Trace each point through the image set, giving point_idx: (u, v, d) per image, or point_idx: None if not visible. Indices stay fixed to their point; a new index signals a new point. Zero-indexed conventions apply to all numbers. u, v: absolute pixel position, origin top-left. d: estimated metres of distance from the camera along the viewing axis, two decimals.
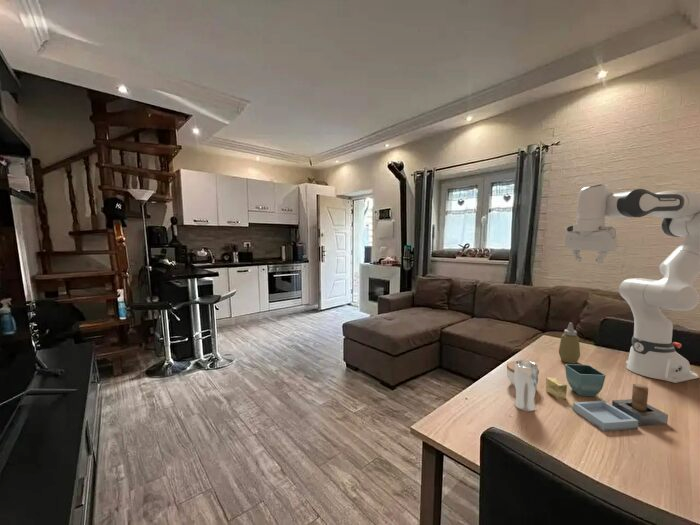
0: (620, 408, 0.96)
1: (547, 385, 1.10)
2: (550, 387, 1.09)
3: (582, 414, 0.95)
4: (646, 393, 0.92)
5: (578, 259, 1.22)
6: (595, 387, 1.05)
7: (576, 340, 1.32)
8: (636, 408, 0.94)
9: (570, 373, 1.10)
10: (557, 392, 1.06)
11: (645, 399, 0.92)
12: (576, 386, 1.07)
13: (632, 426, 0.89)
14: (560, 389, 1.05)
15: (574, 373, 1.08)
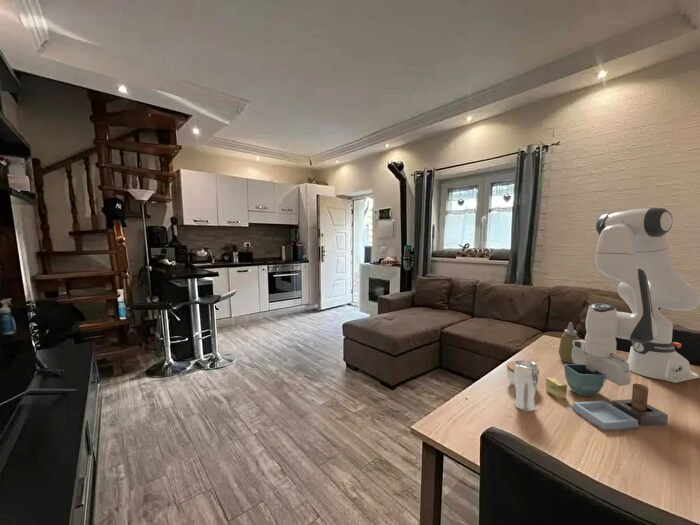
0: (620, 408, 0.96)
1: (547, 385, 1.10)
2: (550, 387, 1.09)
3: (582, 414, 0.95)
4: (646, 393, 0.92)
5: None
6: (595, 387, 1.05)
7: None
8: (636, 408, 0.94)
9: (569, 373, 1.10)
10: (557, 392, 1.06)
11: (645, 399, 0.92)
12: (575, 386, 1.07)
13: (632, 426, 0.89)
14: (560, 389, 1.05)
15: (573, 373, 1.07)
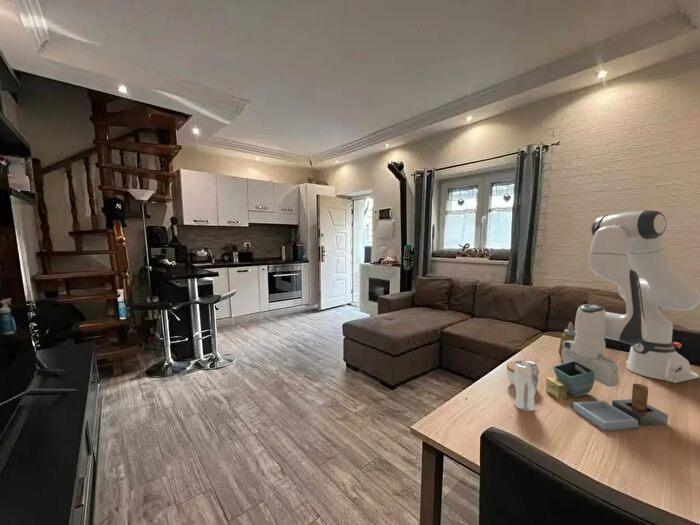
0: (620, 408, 0.96)
1: (547, 385, 1.10)
2: (550, 387, 1.09)
3: (582, 414, 0.95)
4: (646, 393, 0.92)
5: None
6: (587, 384, 1.05)
7: None
8: (636, 408, 0.94)
9: (560, 376, 1.09)
10: (557, 392, 1.06)
11: (645, 399, 0.92)
12: (570, 388, 1.07)
13: (632, 426, 0.89)
14: (560, 389, 1.05)
15: (564, 376, 1.07)
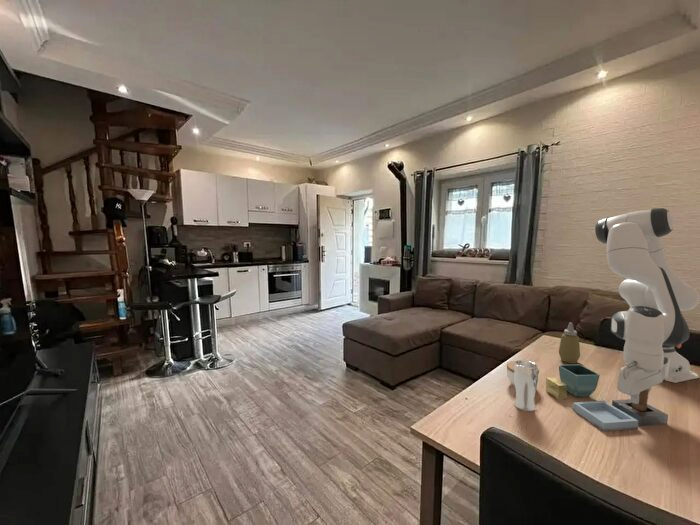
0: (620, 408, 0.96)
1: (547, 385, 1.10)
2: (550, 387, 1.09)
3: (582, 414, 0.95)
4: (646, 393, 0.92)
5: None
6: (590, 387, 1.05)
7: (576, 340, 1.32)
8: (636, 408, 0.94)
9: (565, 374, 1.09)
10: (557, 392, 1.06)
11: (645, 399, 0.92)
12: (572, 387, 1.07)
13: (632, 426, 0.89)
14: (560, 389, 1.05)
15: (570, 374, 1.07)
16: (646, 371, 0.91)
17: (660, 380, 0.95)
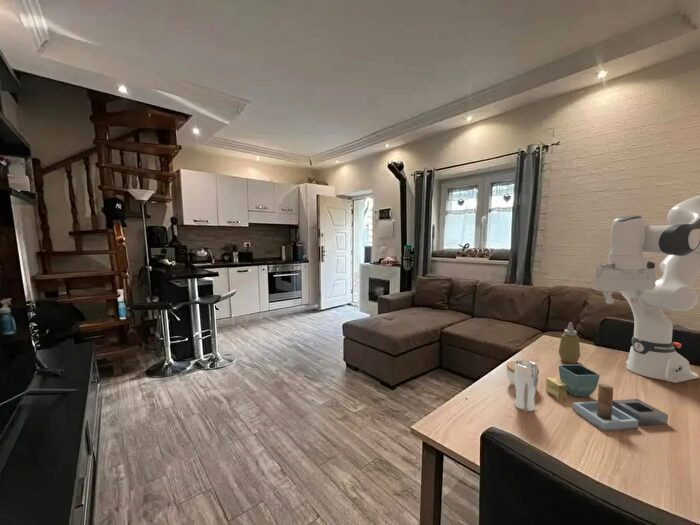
0: (620, 408, 0.96)
1: (547, 385, 1.10)
2: (550, 387, 1.09)
3: (582, 414, 0.95)
4: (610, 393, 0.91)
5: (631, 300, 1.04)
6: (590, 387, 1.05)
7: (576, 340, 1.32)
8: (600, 408, 0.93)
9: (565, 374, 1.09)
10: (557, 392, 1.06)
11: (609, 399, 0.92)
12: (572, 387, 1.07)
13: (632, 426, 0.89)
14: (560, 389, 1.05)
15: (570, 374, 1.07)
16: (623, 272, 1.00)
17: (649, 286, 1.01)
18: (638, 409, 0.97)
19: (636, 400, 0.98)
